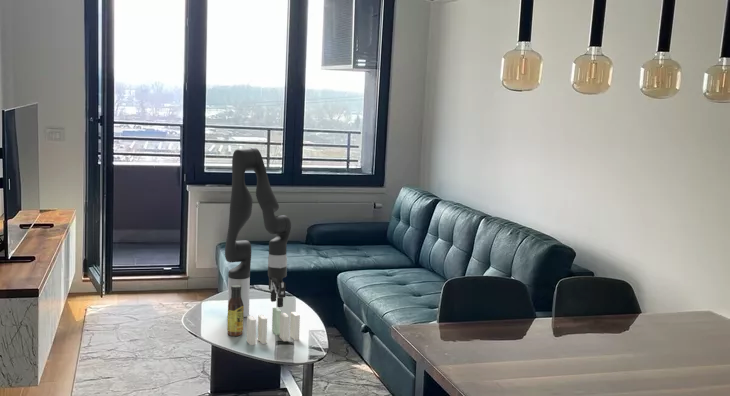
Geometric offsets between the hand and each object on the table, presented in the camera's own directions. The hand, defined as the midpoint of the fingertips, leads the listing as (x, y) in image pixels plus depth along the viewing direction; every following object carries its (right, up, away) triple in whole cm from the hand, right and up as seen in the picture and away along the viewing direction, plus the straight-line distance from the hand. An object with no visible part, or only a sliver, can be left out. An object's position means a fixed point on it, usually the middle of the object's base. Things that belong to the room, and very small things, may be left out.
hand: (276, 304), depth 280 cm
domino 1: (-9, -13, -11) cm, 19 cm away
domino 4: (+4, -13, -5) cm, 15 cm away
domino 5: (+8, -13, -3) cm, 15 cm away
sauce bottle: (-17, -12, -1) cm, 21 cm away
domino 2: (-5, -13, -9) cm, 17 cm away
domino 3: (0, -12, +2) cm, 12 cm away
